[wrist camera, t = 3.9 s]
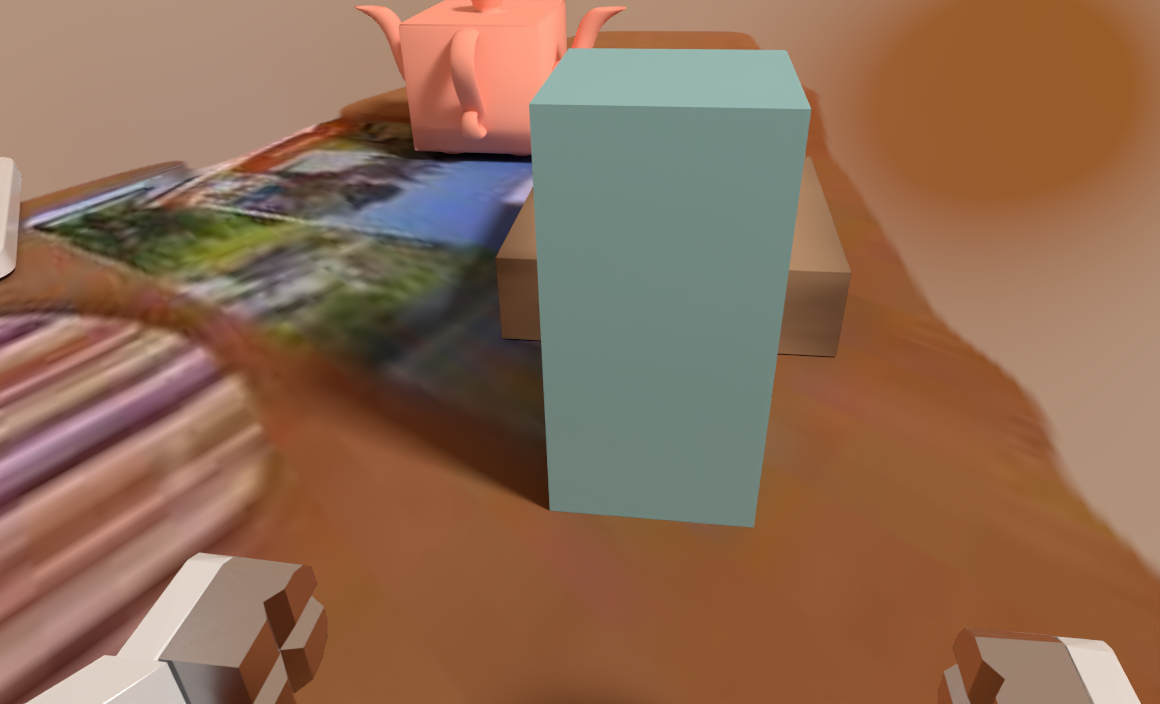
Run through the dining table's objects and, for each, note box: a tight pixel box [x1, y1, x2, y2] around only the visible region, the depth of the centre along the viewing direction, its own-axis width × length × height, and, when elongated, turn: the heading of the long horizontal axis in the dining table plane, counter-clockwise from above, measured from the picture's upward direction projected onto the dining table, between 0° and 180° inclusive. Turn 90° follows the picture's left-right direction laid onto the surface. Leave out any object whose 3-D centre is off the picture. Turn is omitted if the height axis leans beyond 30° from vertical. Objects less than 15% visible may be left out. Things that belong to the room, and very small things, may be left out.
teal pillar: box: [529, 48, 811, 527], centre depth 19 cm, size 5×5×10 cm
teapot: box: [355, 0, 627, 156], centre depth 44 cm, size 12×15×8 cm
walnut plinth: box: [496, 157, 851, 357], centre depth 30 cm, size 11×11×3 cm
